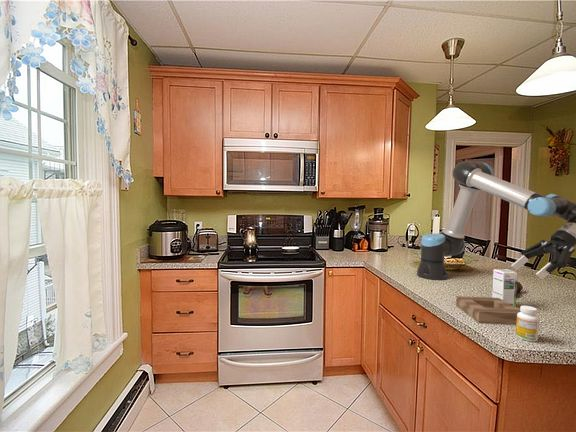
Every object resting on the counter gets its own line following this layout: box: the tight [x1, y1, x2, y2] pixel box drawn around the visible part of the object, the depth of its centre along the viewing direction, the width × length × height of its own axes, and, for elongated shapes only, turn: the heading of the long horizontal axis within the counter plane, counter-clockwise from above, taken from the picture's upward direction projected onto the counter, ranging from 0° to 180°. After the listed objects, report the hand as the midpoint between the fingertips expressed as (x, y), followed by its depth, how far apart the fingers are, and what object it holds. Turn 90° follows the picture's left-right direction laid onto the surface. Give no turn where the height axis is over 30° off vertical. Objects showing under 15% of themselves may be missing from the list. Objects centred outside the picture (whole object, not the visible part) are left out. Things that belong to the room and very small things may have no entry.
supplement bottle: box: [515, 305, 540, 343], centre depth 91 cm, size 5×5×10 cm
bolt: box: [516, 281, 524, 295], centre depth 132 cm, size 6×5×15 cm
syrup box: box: [491, 268, 518, 308], centre depth 119 cm, size 6×6×14 cm
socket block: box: [455, 295, 521, 325], centre depth 109 cm, size 16×16×4 cm
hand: (525, 272), depth 118 cm, fingers open, 13 cm apart
